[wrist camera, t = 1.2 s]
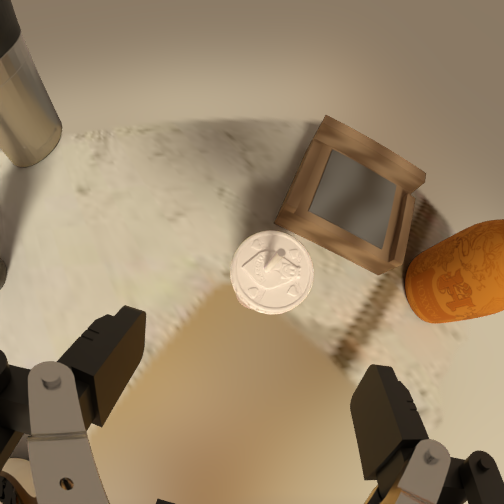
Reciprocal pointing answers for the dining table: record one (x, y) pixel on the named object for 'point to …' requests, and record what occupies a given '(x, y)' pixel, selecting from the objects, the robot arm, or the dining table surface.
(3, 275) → the beverage cup
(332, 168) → the brown wooden tray
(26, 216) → the dining table surface
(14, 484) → the spread jar
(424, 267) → the wine bottle
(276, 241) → the smoothie
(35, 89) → the robot arm
